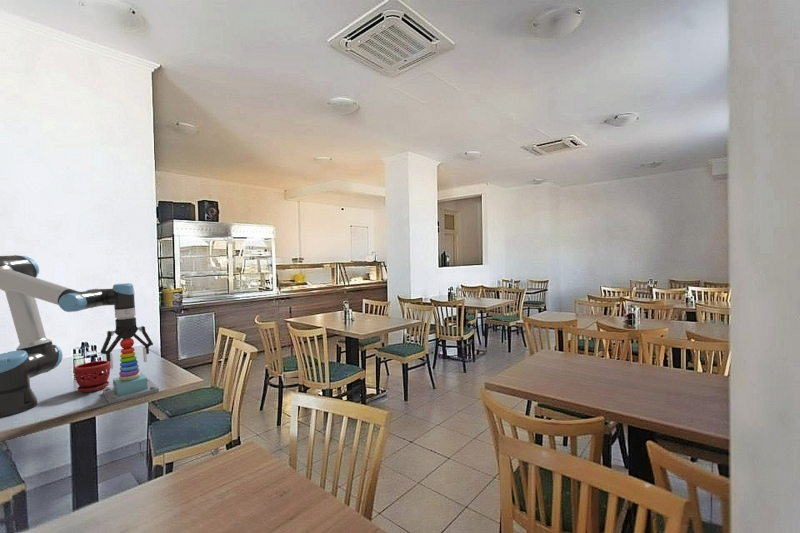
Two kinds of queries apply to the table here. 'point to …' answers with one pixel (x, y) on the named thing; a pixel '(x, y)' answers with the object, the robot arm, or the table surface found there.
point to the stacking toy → (128, 361)
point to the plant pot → (92, 375)
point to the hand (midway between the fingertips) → (128, 364)
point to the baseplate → (130, 395)
